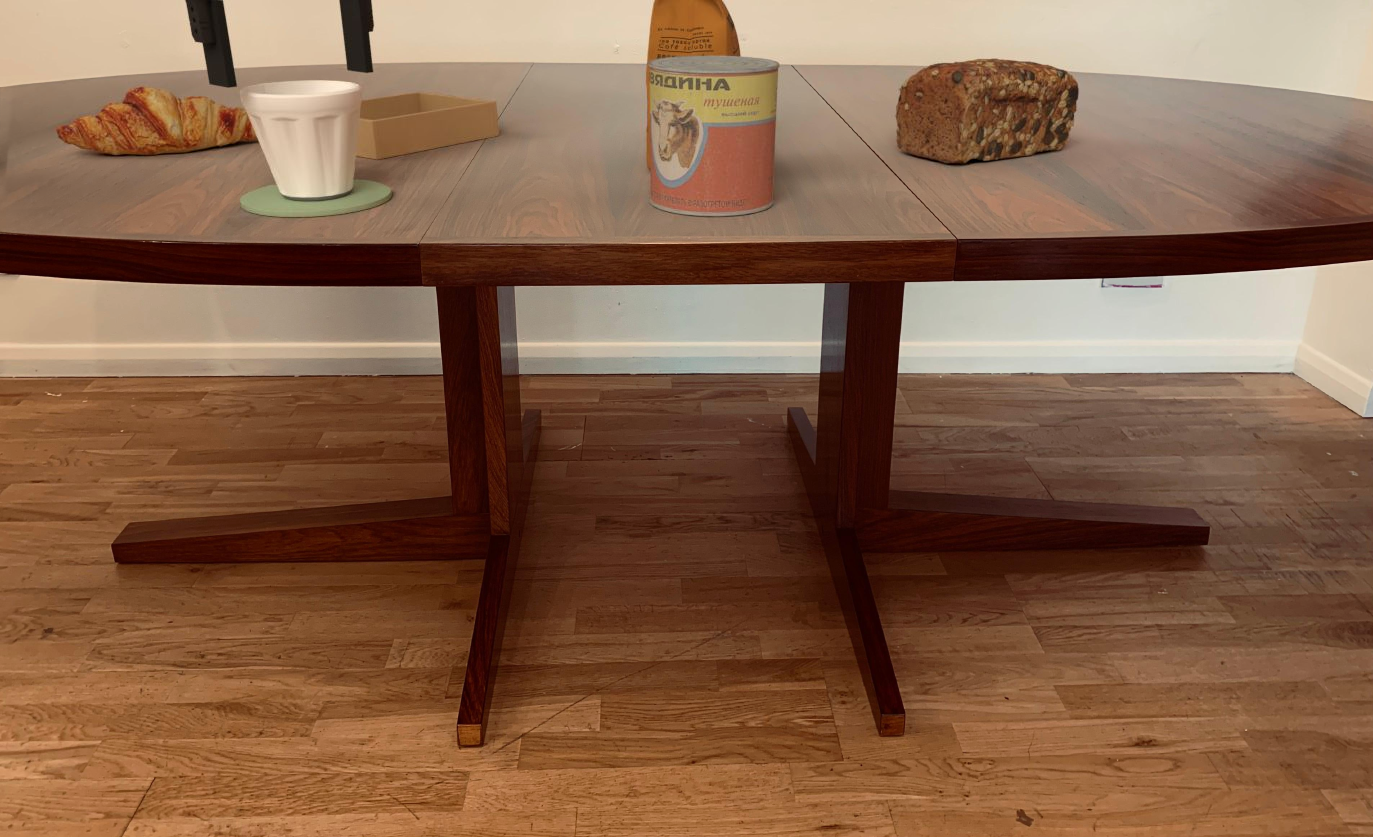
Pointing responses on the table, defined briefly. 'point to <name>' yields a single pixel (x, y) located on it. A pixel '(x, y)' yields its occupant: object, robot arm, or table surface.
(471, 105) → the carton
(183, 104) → the croissant
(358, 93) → the cup
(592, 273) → the table surface
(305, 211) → the mat
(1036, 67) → the bread
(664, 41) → the coffee package
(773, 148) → the canned food
